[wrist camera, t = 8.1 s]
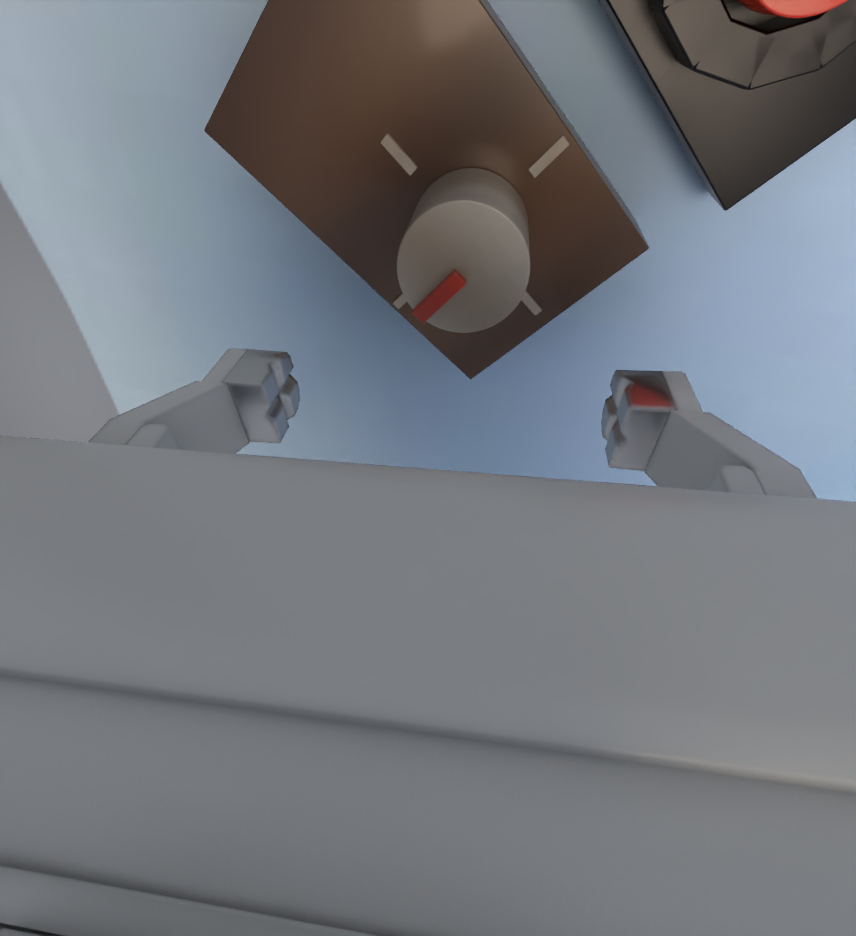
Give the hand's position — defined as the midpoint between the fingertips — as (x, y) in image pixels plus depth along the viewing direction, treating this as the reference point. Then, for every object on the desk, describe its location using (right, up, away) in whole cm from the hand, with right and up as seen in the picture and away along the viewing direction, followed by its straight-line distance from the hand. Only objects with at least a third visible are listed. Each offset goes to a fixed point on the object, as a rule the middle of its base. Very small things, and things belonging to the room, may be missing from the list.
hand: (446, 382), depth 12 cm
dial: (+1, +7, +6) cm, 9 cm away
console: (0, +10, +7) cm, 12 cm away
